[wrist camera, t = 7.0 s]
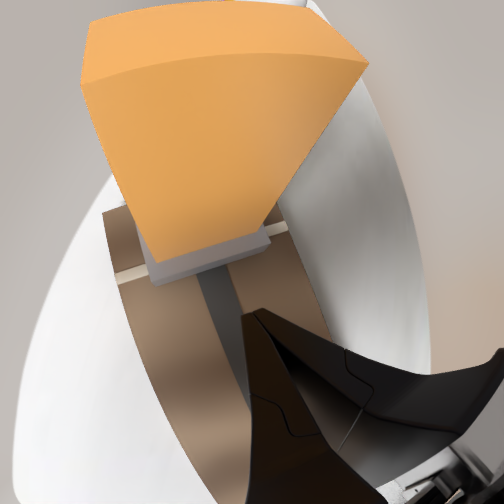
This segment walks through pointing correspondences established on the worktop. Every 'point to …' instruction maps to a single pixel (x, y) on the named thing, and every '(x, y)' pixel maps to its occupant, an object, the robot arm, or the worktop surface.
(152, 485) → the worktop surface
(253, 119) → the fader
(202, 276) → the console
